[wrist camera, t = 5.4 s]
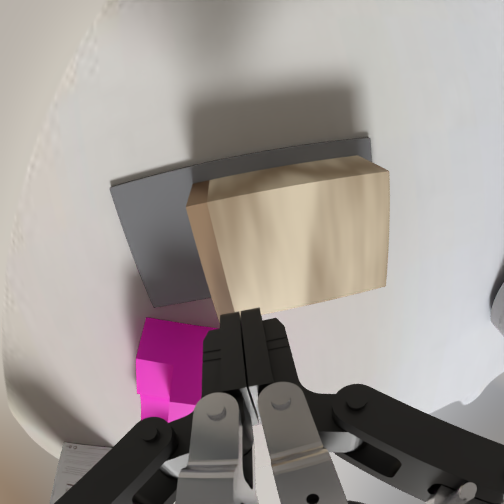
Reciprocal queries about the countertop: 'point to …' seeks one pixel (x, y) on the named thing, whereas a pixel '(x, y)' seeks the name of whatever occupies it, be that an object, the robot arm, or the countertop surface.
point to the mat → (177, 221)
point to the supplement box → (74, 466)
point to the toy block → (169, 368)
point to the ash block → (292, 234)
